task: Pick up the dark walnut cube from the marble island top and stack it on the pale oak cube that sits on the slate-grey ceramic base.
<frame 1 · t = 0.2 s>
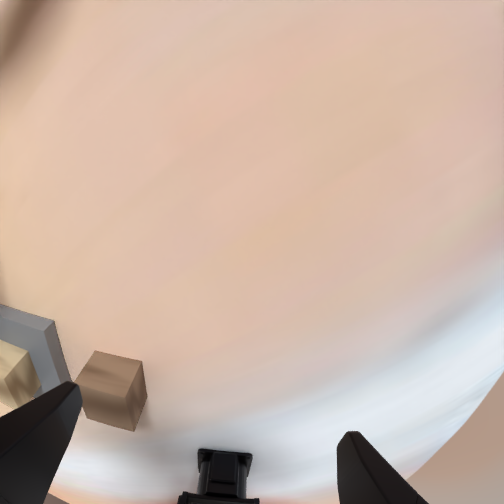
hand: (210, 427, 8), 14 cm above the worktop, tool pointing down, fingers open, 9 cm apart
base: (28, 352, 26), on the worktop
walnut block: (121, 374, 26), on the worktop
oak block: (19, 362, 24), point 2 cm above the worktop, touching base
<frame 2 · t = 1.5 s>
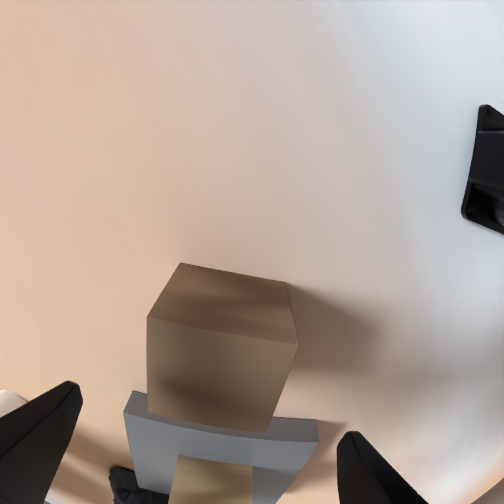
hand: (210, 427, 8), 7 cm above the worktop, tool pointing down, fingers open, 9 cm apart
foam cup: (24, 411, 19), on the worktop
base: (213, 455, 19), on the worktop
walnut block: (224, 317, 15), on the worktop
oak block: (211, 475, 17), point 2 cm above the worktop, touching base
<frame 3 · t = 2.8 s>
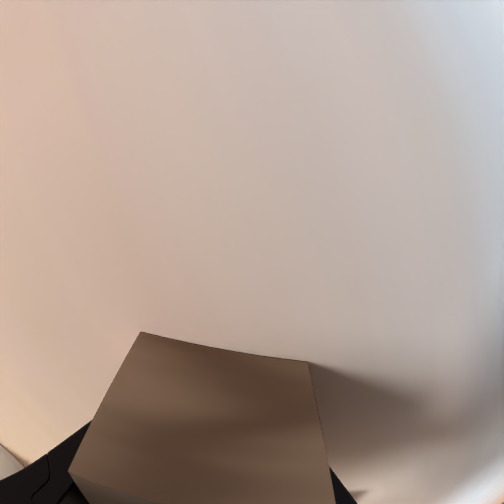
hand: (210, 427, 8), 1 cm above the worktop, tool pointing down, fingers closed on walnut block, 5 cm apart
walnut block: (213, 404, 9), on the worktop, touching gripper
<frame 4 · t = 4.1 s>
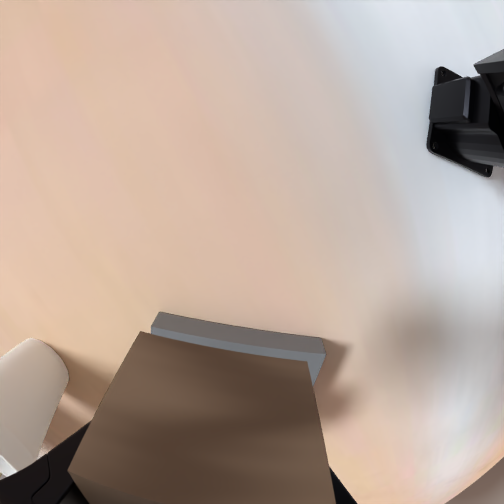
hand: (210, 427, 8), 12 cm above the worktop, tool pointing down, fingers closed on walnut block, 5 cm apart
foam cup: (45, 362, 24), on the worktop
base: (229, 384, 23), on the worktop
walnut block: (213, 404, 9), point 11 cm above the worktop, touching gripper
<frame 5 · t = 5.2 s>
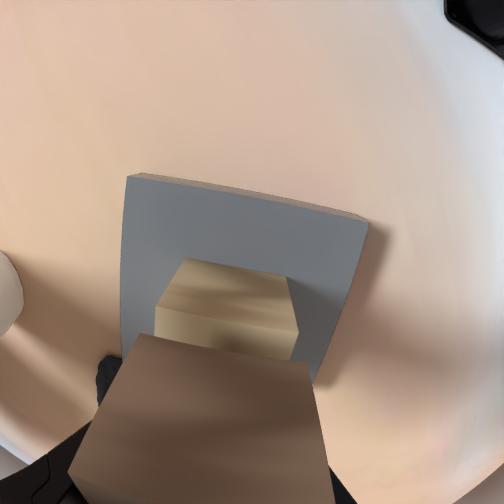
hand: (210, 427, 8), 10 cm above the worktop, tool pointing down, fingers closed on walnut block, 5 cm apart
dark slate chunk: (171, 443, 24), on the worktop
foam cup: (0, 282, 18), on the worktop
base: (230, 293, 17), on the worktop
walnut block: (213, 405, 9), point 9 cm above the worktop, touching gripper
oak block: (227, 310, 15), point 2 cm above the worktop, touching base
when the fingers open (8 cm above the worktop, at t = 5.8 s): walnut block stays where it is, resting on oak block.
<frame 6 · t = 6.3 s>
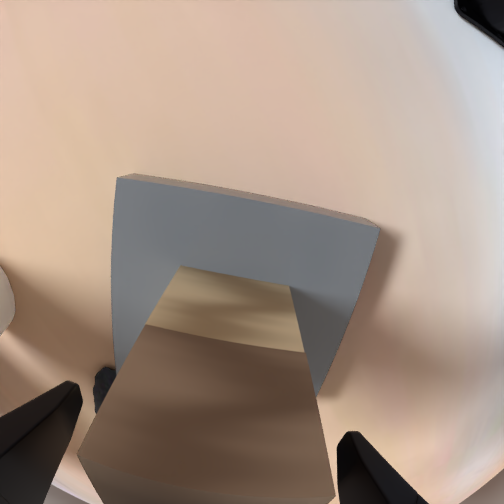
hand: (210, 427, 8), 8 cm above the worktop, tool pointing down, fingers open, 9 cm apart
dark slate chunk: (171, 453, 22), on the worktop
base: (229, 302, 16), on the worktop
walnut block: (215, 395, 10), point 7 cm above the worktop, touching oak block
oak block: (226, 322, 14), point 2 cm above the worktop, touching base, walnut block
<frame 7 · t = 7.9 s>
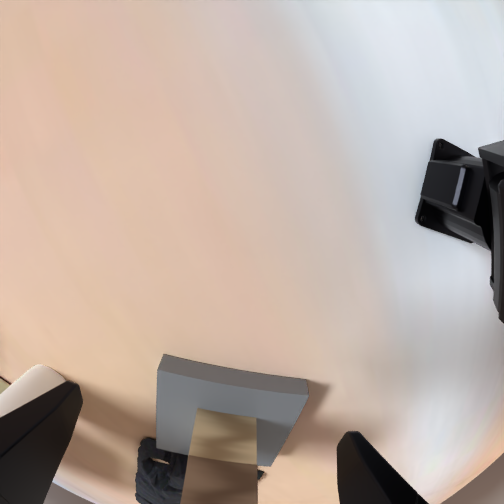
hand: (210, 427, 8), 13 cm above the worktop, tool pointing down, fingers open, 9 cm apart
dark slate chunk: (186, 479, 31), on the worktop
foam cup: (53, 385, 25), on the worktop
base: (224, 413, 25), on the worktop
walnut block: (218, 474, 18), point 7 cm above the worktop, touching oak block
oak block: (222, 429, 23), point 2 cm above the worktop, touching base, walnut block
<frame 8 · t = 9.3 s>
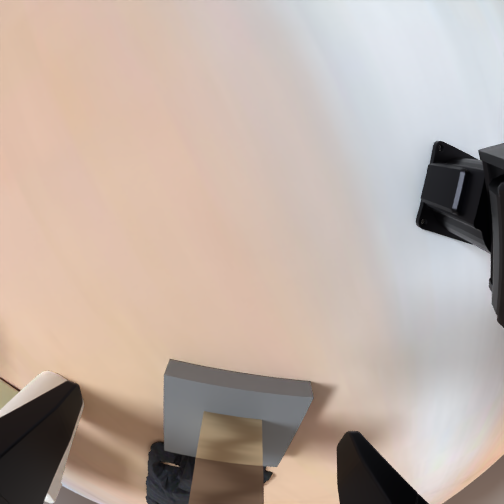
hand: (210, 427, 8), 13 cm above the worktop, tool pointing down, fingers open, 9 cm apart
dark slate chunk: (196, 481, 32), on the worktop
foam cup: (61, 390, 26), on the worktop
base: (230, 416, 25), on the worktop
walnut block: (225, 476, 19), point 7 cm above the worktop, touching oak block
oak block: (228, 431, 23), point 2 cm above the worktop, touching base, walnut block
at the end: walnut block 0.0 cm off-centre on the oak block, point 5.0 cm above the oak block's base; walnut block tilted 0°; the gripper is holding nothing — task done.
